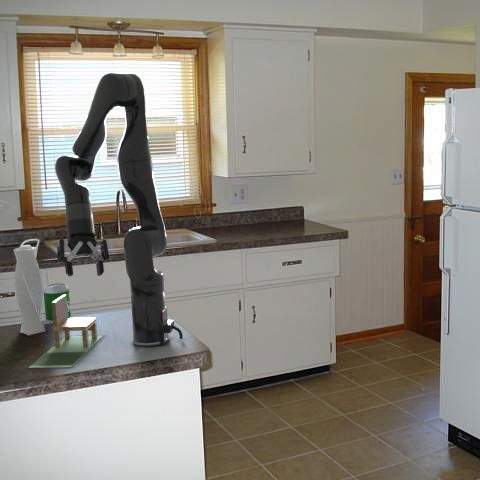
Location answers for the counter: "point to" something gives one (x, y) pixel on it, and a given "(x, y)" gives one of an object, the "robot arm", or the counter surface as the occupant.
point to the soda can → (51, 295)
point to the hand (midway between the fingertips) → (85, 275)
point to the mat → (65, 353)
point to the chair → (70, 323)
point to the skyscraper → (29, 288)
